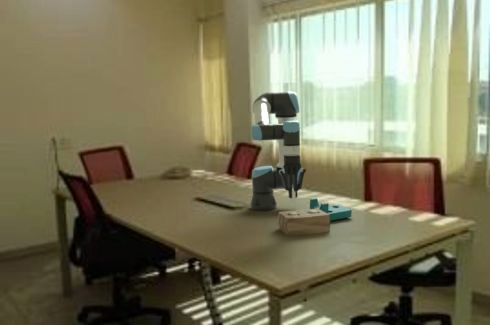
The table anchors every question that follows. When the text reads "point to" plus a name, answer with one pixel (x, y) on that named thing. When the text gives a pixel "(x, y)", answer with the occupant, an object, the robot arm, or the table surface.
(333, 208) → the teal l-shaped bracket
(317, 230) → the socket block
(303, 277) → the table surface
